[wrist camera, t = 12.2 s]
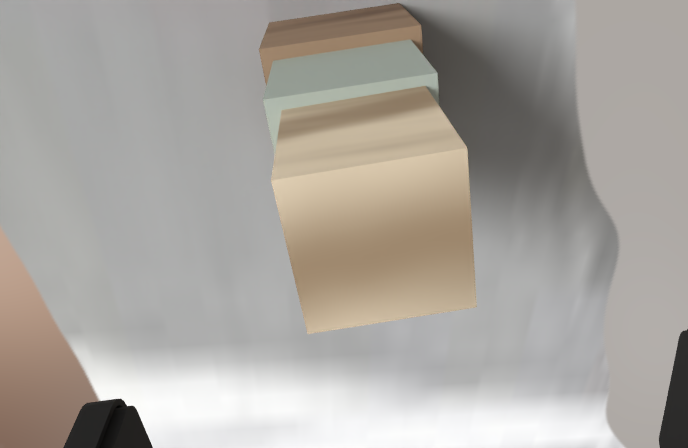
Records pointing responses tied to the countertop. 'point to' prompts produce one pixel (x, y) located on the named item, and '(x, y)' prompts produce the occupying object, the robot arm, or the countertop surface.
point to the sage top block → (345, 77)
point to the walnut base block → (338, 33)
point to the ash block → (375, 209)
